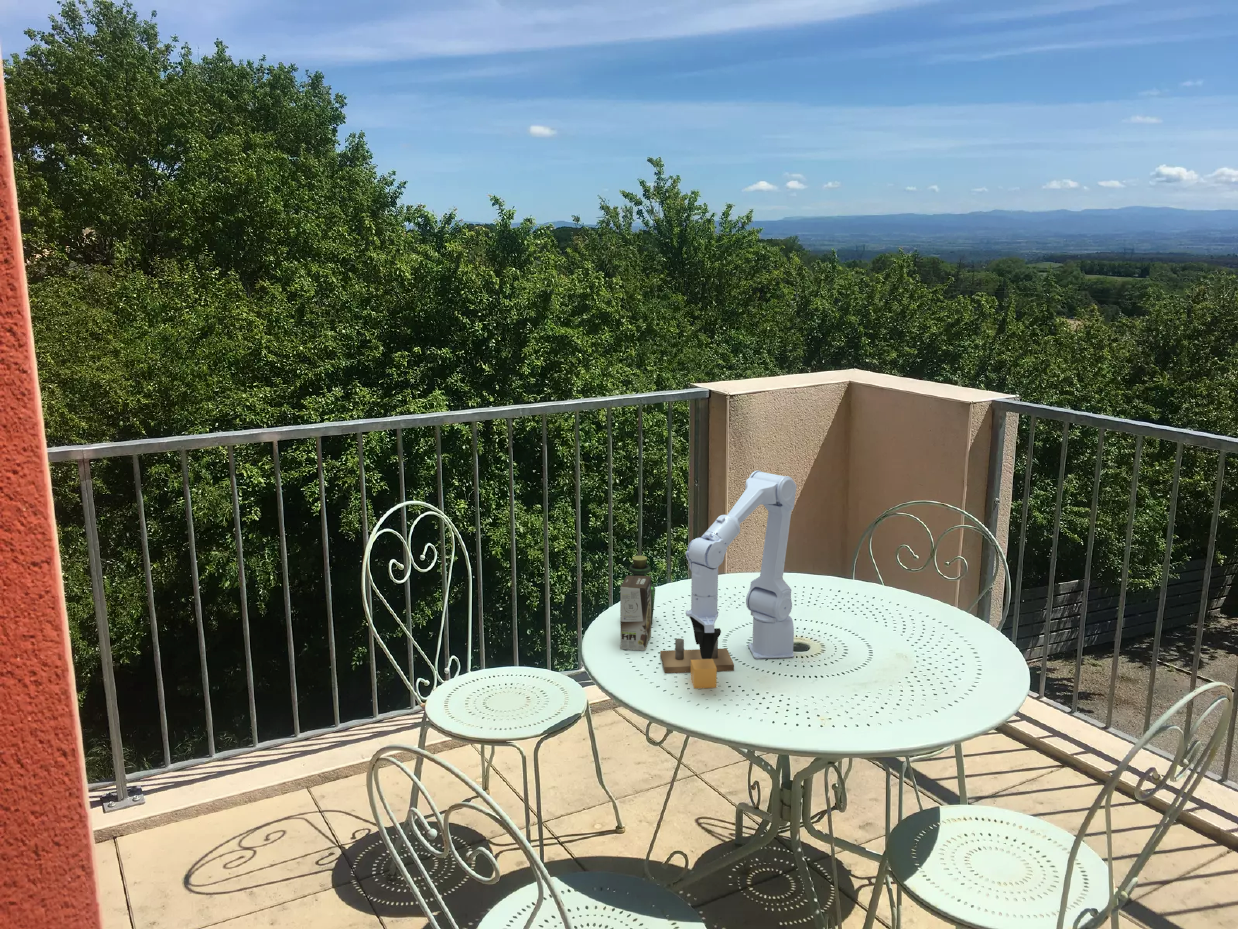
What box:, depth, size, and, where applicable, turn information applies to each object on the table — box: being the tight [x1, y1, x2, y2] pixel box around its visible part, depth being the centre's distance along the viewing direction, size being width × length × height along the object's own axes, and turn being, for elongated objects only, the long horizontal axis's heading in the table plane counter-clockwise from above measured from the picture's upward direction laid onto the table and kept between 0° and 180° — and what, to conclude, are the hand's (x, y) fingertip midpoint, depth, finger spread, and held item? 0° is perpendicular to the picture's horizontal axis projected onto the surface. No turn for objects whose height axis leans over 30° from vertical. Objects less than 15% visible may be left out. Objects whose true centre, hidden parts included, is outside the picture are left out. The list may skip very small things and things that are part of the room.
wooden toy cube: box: [690, 659, 718, 689], centre depth 196 cm, size 5×5×4 cm
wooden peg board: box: [659, 638, 735, 674], centre depth 206 cm, size 16×9×6 cm, turn 94°
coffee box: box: [619, 574, 652, 652], centre depth 217 cm, size 9×6×16 cm
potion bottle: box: [628, 555, 656, 626], centre depth 228 cm, size 8×8×18 cm
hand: (703, 650), depth 195 cm, fingers open, 7 cm apart
